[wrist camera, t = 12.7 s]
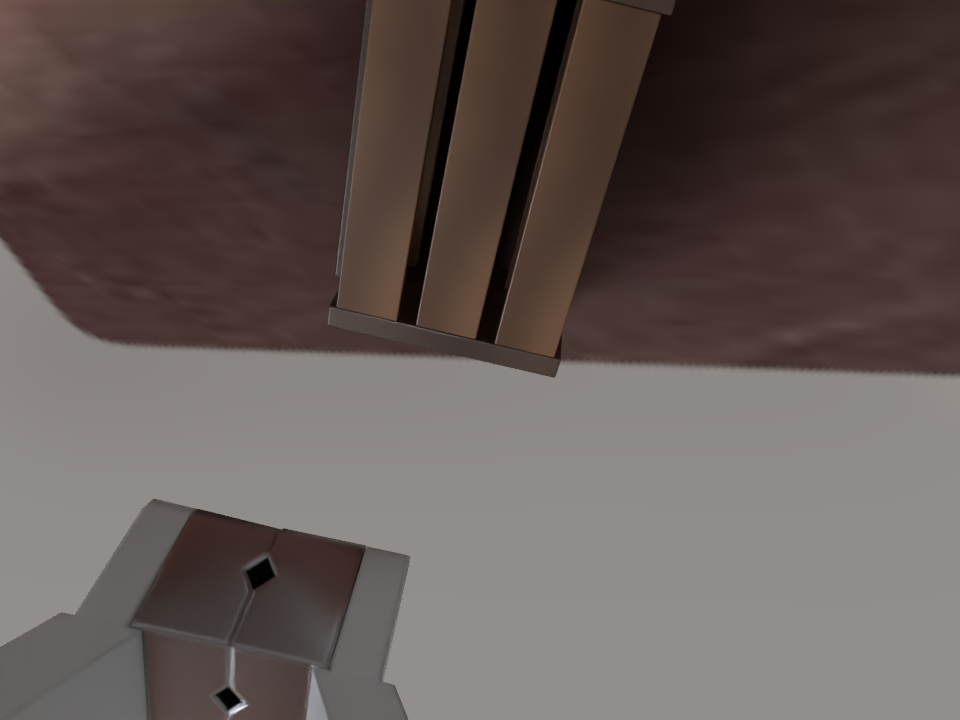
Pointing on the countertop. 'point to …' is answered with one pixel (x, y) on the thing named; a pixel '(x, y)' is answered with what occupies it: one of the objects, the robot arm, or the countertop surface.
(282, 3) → the countertop surface
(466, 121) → the rack
